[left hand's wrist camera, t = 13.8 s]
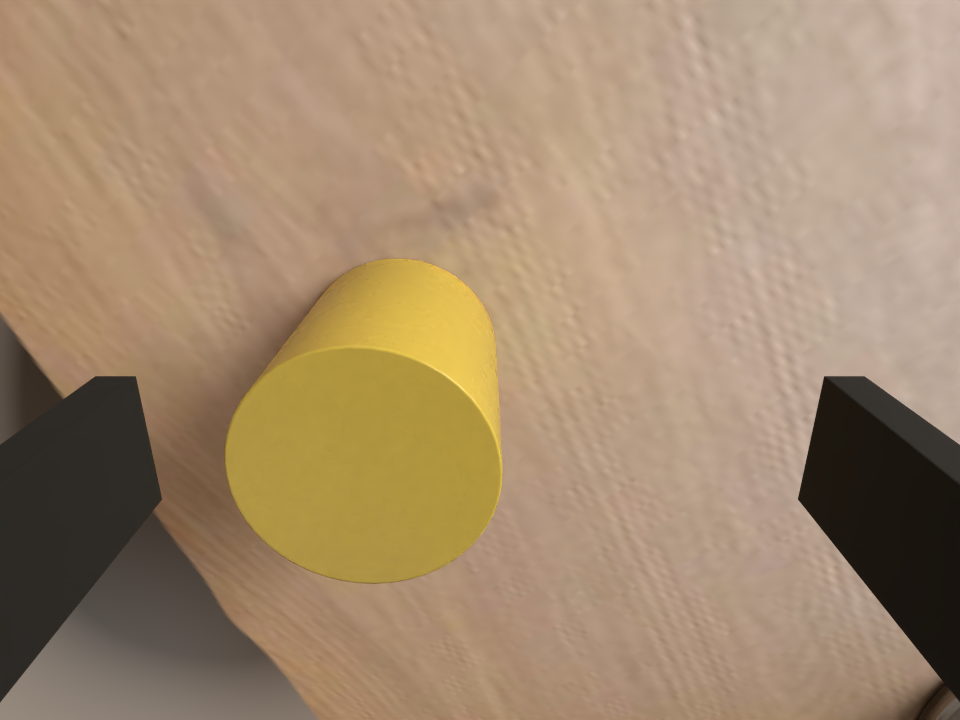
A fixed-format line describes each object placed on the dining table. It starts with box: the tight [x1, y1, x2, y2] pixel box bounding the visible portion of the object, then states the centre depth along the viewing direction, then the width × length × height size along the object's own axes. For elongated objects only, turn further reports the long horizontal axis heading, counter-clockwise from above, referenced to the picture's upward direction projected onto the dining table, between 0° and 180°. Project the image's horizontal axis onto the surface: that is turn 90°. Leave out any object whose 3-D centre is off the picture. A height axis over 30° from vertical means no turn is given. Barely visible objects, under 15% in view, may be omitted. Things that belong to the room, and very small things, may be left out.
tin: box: [225, 259, 503, 584], centre depth 25 cm, size 9×9×10 cm
